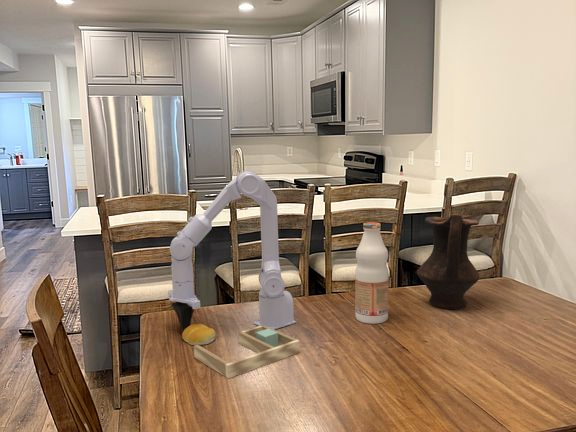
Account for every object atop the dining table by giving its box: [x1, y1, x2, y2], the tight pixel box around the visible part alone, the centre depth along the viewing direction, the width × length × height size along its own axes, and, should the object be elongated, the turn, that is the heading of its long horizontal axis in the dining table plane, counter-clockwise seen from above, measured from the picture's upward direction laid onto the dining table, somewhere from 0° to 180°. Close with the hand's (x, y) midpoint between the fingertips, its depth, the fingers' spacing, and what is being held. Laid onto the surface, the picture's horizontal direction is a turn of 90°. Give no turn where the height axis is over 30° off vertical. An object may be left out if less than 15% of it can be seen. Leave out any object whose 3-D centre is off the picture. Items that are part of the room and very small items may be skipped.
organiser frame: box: [193, 325, 301, 379], centre depth 128 cm, size 21×15×3 cm
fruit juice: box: [354, 221, 389, 325], centre depth 149 cm, size 9×9×28 cm
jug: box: [416, 213, 480, 310], centre depth 159 cm, size 21×18×30 cm
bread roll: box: [181, 323, 217, 346], centre depth 138 cm, size 8×9×4 cm
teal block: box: [256, 329, 279, 347], centre depth 132 cm, size 4×4×4 cm
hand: (185, 327), depth 144 cm, fingers closed
